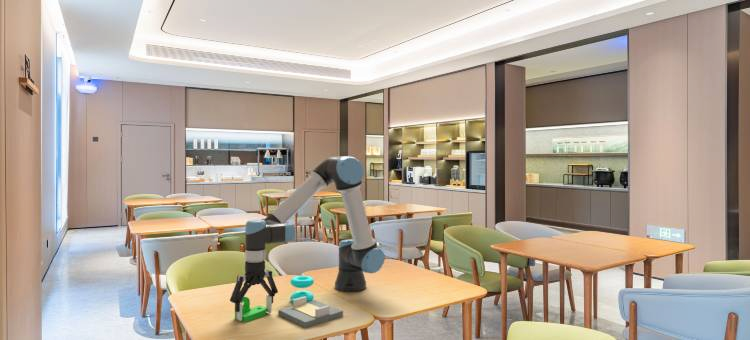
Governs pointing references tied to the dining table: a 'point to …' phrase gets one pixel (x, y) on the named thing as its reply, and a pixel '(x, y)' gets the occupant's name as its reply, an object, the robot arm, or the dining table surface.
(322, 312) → the grey square plate
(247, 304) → the mechanical part
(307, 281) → the donuts
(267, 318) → the dining table surface
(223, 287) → the dining table surface
